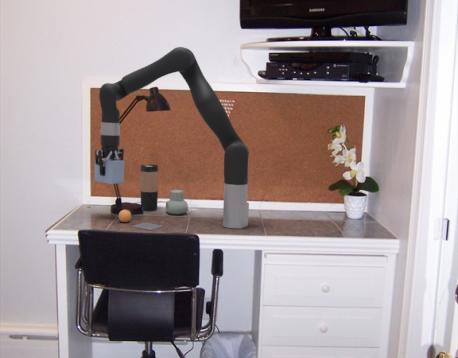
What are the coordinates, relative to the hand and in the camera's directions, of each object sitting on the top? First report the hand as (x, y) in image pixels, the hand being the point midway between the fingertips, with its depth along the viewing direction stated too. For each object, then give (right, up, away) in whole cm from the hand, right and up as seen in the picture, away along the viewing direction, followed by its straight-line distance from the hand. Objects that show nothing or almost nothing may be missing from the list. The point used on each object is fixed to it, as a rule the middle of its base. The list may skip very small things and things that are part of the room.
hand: (109, 174), depth 207 cm
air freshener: (+26, -17, +16) cm, 35 cm away
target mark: (+17, -20, -9) cm, 28 cm away
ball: (+7, -17, -3) cm, 18 cm away
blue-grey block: (0, -3, 0) cm, 3 cm away
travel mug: (+13, -16, +21) cm, 29 cm away
